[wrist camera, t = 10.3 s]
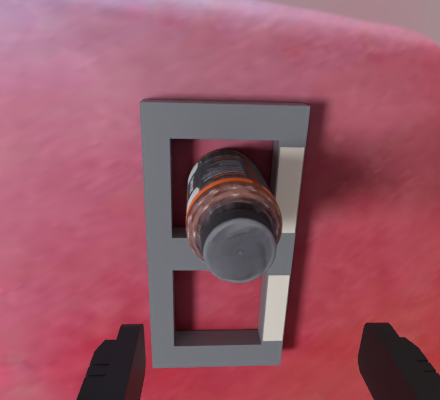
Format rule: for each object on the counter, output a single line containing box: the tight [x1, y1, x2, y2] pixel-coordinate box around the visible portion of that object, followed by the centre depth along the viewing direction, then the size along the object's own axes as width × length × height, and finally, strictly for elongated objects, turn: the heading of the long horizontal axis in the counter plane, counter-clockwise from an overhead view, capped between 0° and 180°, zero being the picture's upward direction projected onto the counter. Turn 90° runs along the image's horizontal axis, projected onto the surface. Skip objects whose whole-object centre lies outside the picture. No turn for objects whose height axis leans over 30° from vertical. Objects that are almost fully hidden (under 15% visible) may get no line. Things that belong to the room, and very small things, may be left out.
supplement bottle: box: [186, 149, 283, 283], centre depth 24 cm, size 6×6×11 cm
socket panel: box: [140, 99, 310, 368], centre depth 30 cm, size 12×24×2 cm, turn 178°
